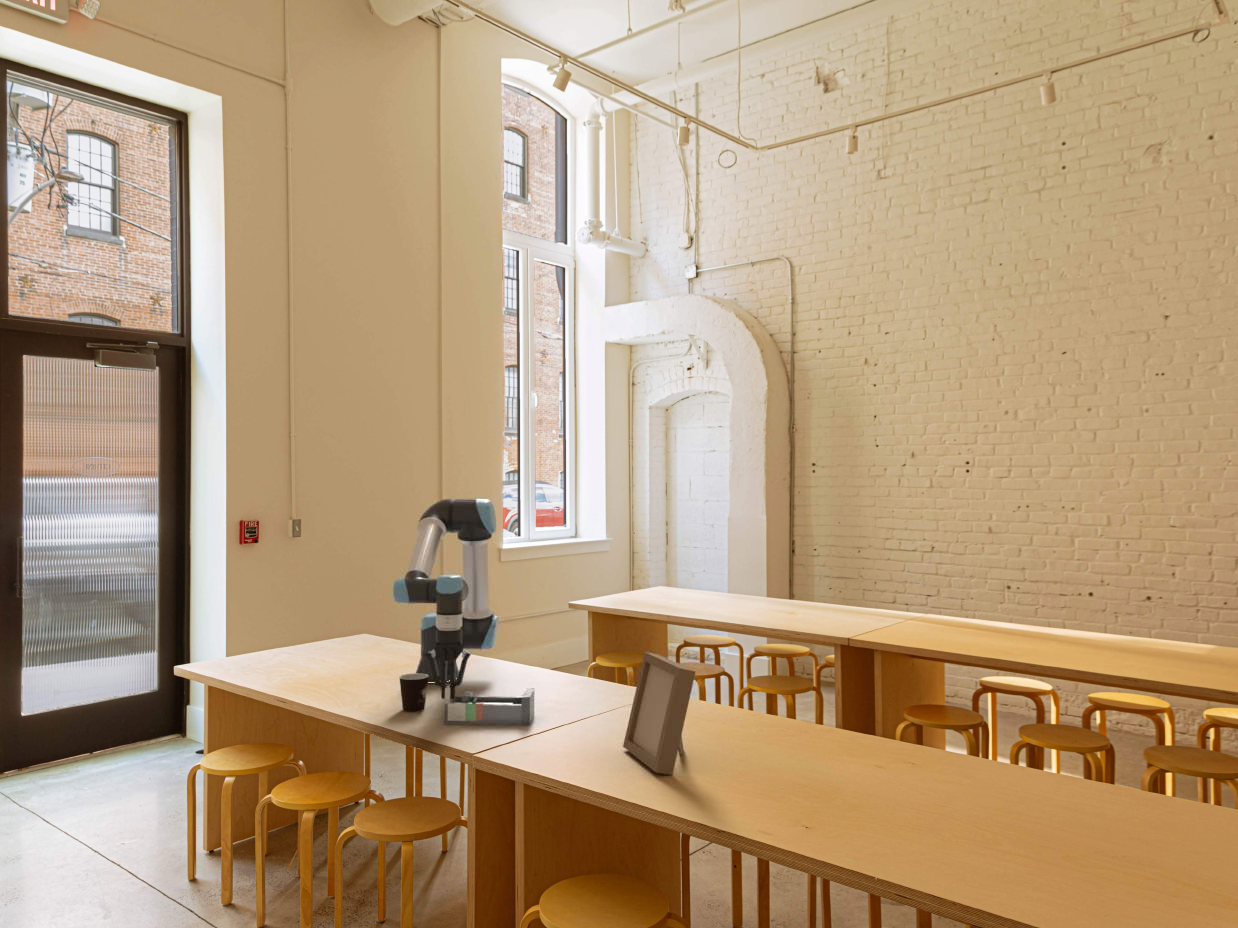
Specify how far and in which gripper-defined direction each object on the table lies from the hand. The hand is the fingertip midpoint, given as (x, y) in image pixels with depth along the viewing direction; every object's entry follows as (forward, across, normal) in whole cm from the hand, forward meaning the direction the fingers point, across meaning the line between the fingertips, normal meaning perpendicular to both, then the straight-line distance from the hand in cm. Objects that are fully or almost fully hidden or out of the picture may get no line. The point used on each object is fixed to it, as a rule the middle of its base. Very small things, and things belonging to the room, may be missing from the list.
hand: (448, 709), depth 251 cm
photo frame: (+3, +62, -36) cm, 71 cm away
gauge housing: (+3, +12, 0) cm, 13 cm away
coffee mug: (+3, -12, +12) cm, 17 cm away
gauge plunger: (+1, +12, -2) cm, 12 cm away
